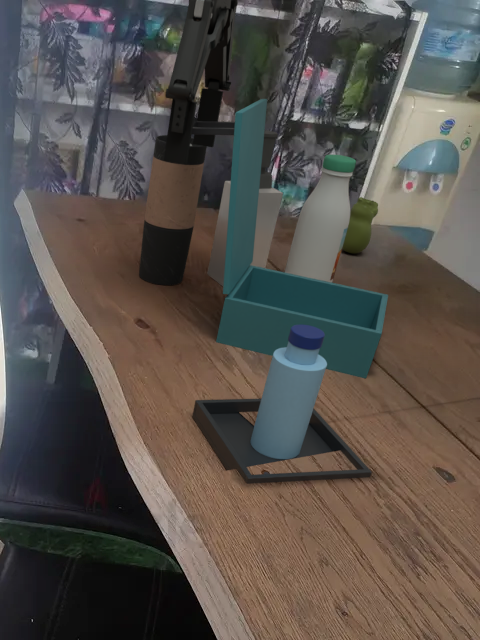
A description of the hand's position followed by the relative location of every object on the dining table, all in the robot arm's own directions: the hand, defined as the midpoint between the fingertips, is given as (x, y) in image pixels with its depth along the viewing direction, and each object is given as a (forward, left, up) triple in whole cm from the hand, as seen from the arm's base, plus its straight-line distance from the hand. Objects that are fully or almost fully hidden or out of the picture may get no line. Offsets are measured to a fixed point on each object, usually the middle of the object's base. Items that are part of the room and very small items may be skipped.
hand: (189, 153), depth 93 cm
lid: (-6, -6, -4) cm, 9 cm away
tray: (-37, +6, -21) cm, 43 cm away
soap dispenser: (+11, -19, -21) cm, 30 cm away
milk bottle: (+4, -29, -21) cm, 36 cm away
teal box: (-14, -14, -21) cm, 29 cm away
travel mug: (+13, -7, -21) cm, 26 cm away
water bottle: (-37, +6, -21) cm, 42 cm away
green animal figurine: (+20, -52, -21) cm, 59 cm away
